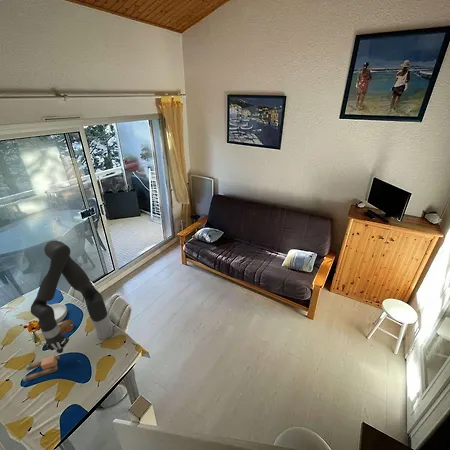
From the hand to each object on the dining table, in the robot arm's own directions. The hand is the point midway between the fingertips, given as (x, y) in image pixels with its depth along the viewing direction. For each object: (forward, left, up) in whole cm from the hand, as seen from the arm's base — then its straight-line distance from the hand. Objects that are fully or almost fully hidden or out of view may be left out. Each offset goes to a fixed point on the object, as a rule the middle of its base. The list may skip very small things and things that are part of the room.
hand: (60, 351), depth 140 cm
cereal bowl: (+11, -37, -10) cm, 39 cm away
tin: (+5, -23, -10) cm, 25 cm away
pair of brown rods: (+11, 0, -10) cm, 15 cm away
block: (+8, 0, -10) cm, 12 cm away
